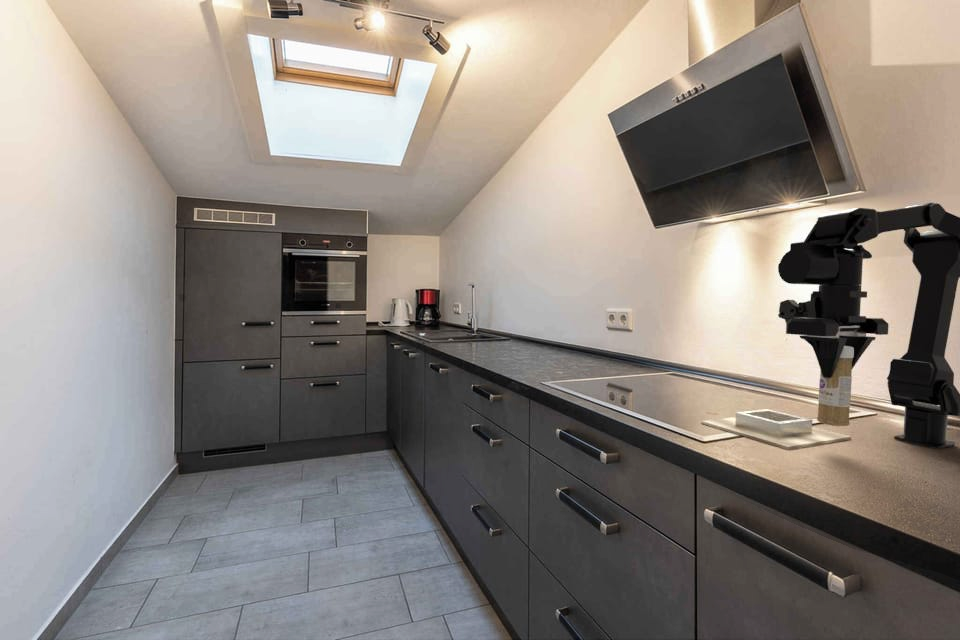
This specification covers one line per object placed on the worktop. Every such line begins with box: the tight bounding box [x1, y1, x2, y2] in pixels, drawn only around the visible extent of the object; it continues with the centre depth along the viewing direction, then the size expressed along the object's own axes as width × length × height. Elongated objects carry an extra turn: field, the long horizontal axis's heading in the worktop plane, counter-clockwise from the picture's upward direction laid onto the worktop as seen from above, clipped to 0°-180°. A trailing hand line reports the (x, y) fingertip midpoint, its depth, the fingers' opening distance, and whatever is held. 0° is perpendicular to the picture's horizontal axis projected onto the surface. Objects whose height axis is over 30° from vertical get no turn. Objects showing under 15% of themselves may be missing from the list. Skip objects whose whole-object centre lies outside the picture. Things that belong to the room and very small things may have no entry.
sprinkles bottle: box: [816, 346, 854, 427], centre depth 79 cm, size 5×5×13 cm
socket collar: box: [735, 408, 813, 437], centre depth 91 cm, size 9×9×2 cm
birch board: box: [701, 416, 852, 451], centre depth 91 cm, size 18×18×1 cm
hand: (835, 376), depth 79 cm, fingers closed on sprinkles bottle, 4 cm apart
